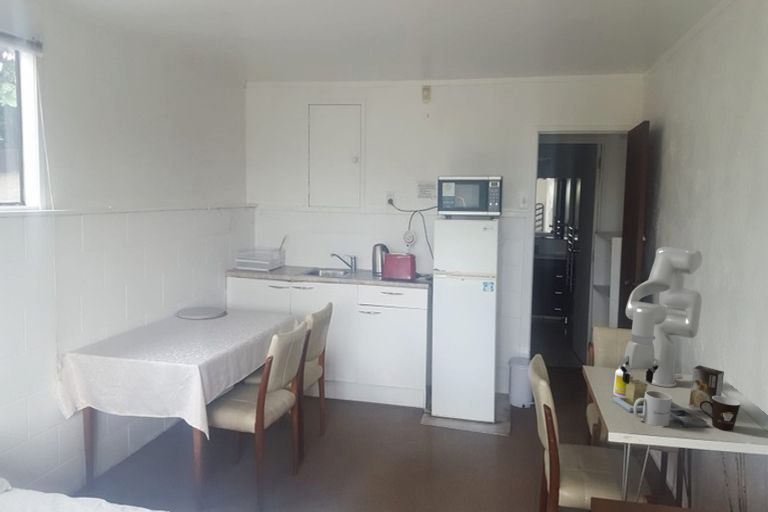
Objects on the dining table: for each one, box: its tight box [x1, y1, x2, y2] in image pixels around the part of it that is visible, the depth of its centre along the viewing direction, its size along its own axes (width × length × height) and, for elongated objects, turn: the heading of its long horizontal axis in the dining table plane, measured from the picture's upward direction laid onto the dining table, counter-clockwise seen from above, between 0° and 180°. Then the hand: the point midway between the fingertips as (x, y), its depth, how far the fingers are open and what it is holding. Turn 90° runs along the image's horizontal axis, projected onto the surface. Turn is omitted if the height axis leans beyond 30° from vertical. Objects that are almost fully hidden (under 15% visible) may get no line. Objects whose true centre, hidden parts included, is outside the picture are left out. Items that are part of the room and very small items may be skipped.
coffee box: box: [688, 365, 725, 416], centre depth 209 cm, size 9×6×16 cm
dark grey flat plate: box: [669, 401, 708, 428], centre depth 203 cm, size 9×22×2 cm, turn 9°
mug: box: [633, 390, 673, 428], centre depth 196 cm, size 12×9×10 cm
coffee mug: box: [700, 395, 741, 432], centre depth 195 cm, size 12×9×10 cm
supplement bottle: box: [612, 364, 634, 397], centre depth 220 cm, size 7×7×13 cm
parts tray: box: [612, 396, 643, 413], centre depth 209 cm, size 11×11×2 cm
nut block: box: [625, 379, 649, 406], centre depth 209 cm, size 5×5×9 cm
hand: (637, 382), depth 209 cm, fingers open, 9 cm apart
